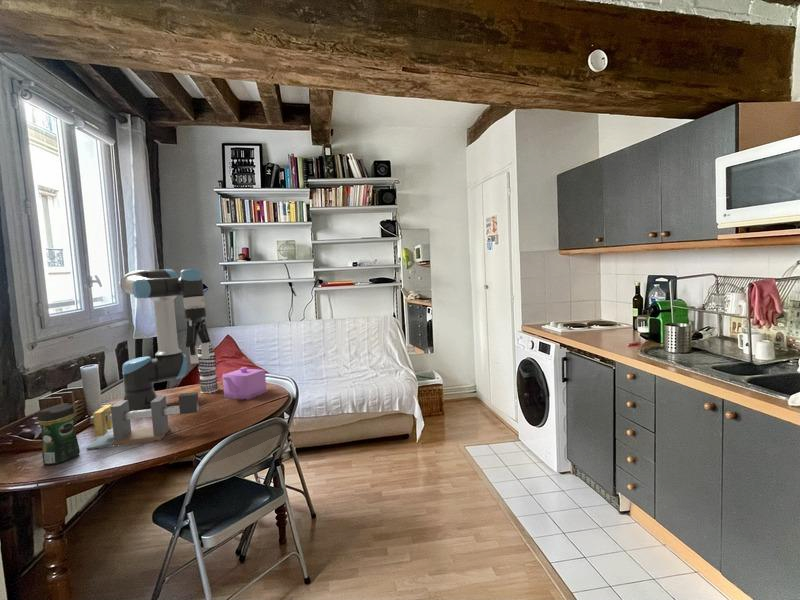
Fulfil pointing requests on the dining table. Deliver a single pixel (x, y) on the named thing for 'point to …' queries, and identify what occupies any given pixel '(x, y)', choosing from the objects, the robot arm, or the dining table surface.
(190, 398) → the shaft
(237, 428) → the dining table surface
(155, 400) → the bracket
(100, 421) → the spacer
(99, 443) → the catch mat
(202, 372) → the decorative candle
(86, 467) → the dining table surface
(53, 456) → the coffee jar
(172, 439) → the dining table surface
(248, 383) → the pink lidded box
